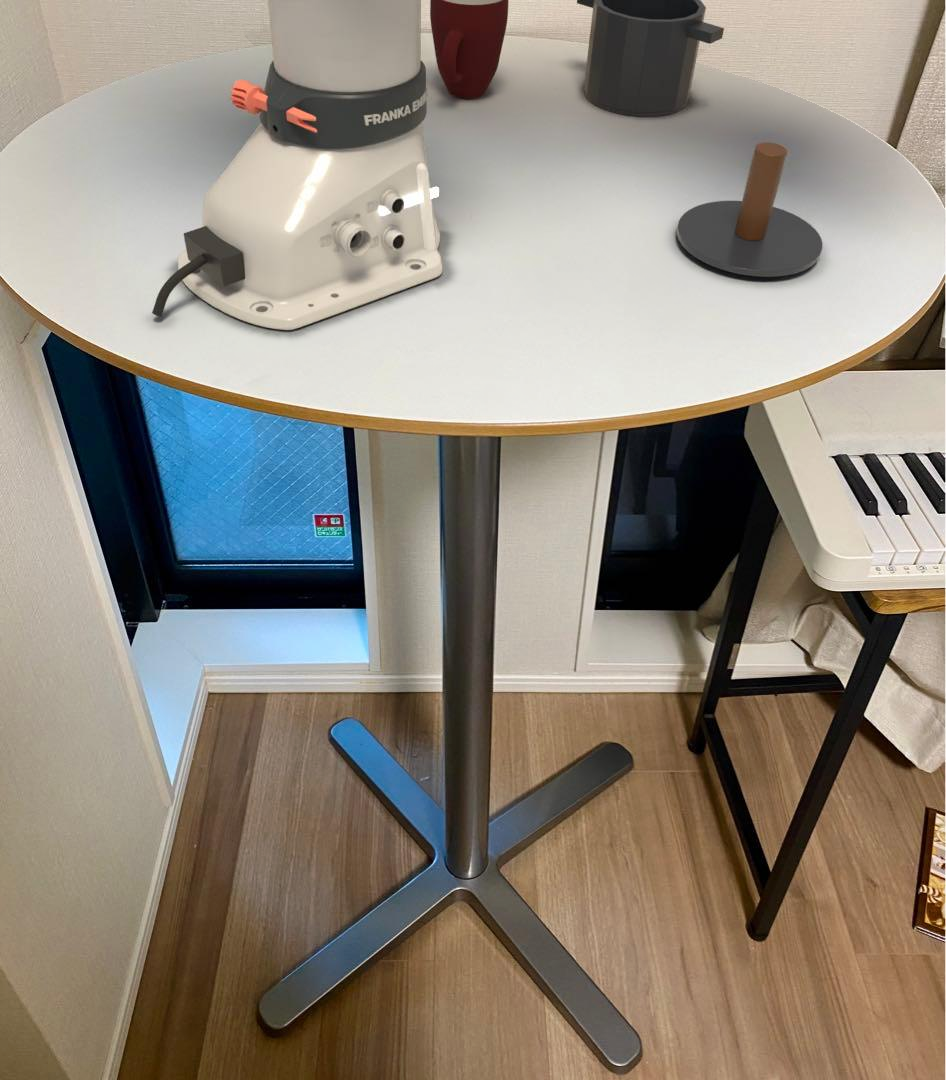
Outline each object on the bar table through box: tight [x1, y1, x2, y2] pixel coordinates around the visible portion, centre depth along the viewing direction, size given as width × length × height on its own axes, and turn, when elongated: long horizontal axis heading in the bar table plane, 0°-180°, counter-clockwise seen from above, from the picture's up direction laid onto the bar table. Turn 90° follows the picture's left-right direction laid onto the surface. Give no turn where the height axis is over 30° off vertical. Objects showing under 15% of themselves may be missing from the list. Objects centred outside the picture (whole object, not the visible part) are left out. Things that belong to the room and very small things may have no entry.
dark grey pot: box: [576, 0, 725, 118], centre depth 106 cm, size 11×17×9 cm
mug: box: [429, 0, 509, 100], centre depth 104 cm, size 11×8×10 cm
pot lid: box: [676, 141, 823, 278], centre depth 83 cm, size 12×12×9 cm
